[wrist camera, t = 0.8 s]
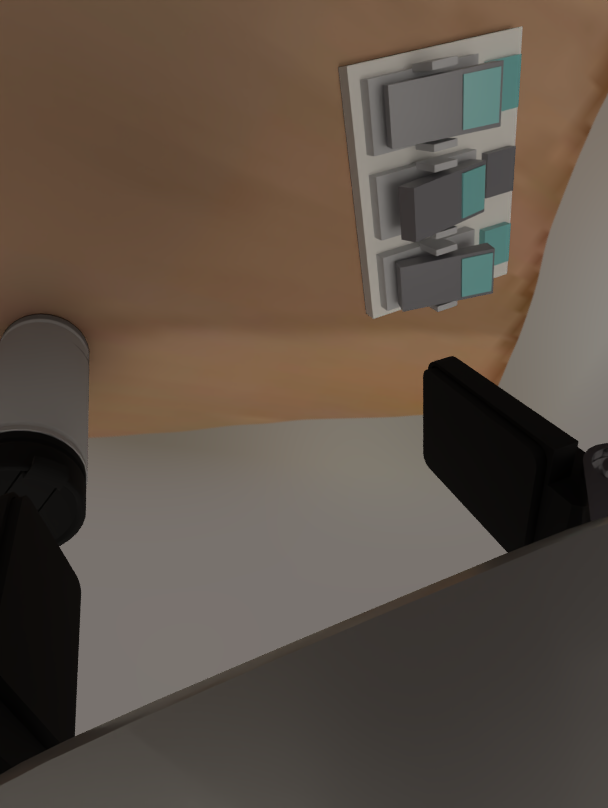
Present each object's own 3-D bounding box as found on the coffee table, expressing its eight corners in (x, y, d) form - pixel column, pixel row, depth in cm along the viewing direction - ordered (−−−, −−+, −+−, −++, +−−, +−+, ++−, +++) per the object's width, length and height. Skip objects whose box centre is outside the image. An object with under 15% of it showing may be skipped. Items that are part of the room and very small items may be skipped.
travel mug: (106, 337, 40) (116, 492, 24) (63, 398, 41) (45, 584, 25) (29, 293, 36) (-21, 442, 20) (-16, 361, 38) (-95, 552, 22)
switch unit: (338, 67, 36) (371, 62, 32) (509, 28, 39) (561, 19, 35) (366, 313, 48) (393, 334, 43) (497, 269, 50) (534, 285, 46)
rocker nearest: (382, 84, 35) (388, 85, 33) (493, 60, 35) (504, 60, 33) (387, 146, 37) (392, 149, 36) (491, 124, 37) (501, 126, 36)
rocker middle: (398, 186, 37) (415, 188, 36) (469, 159, 40) (487, 159, 39) (401, 239, 39) (417, 242, 38) (468, 209, 42) (485, 211, 41)
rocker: (395, 261, 42) (400, 268, 41) (487, 242, 42) (495, 248, 41) (398, 304, 45) (403, 312, 43) (485, 286, 44) (493, 293, 43)
